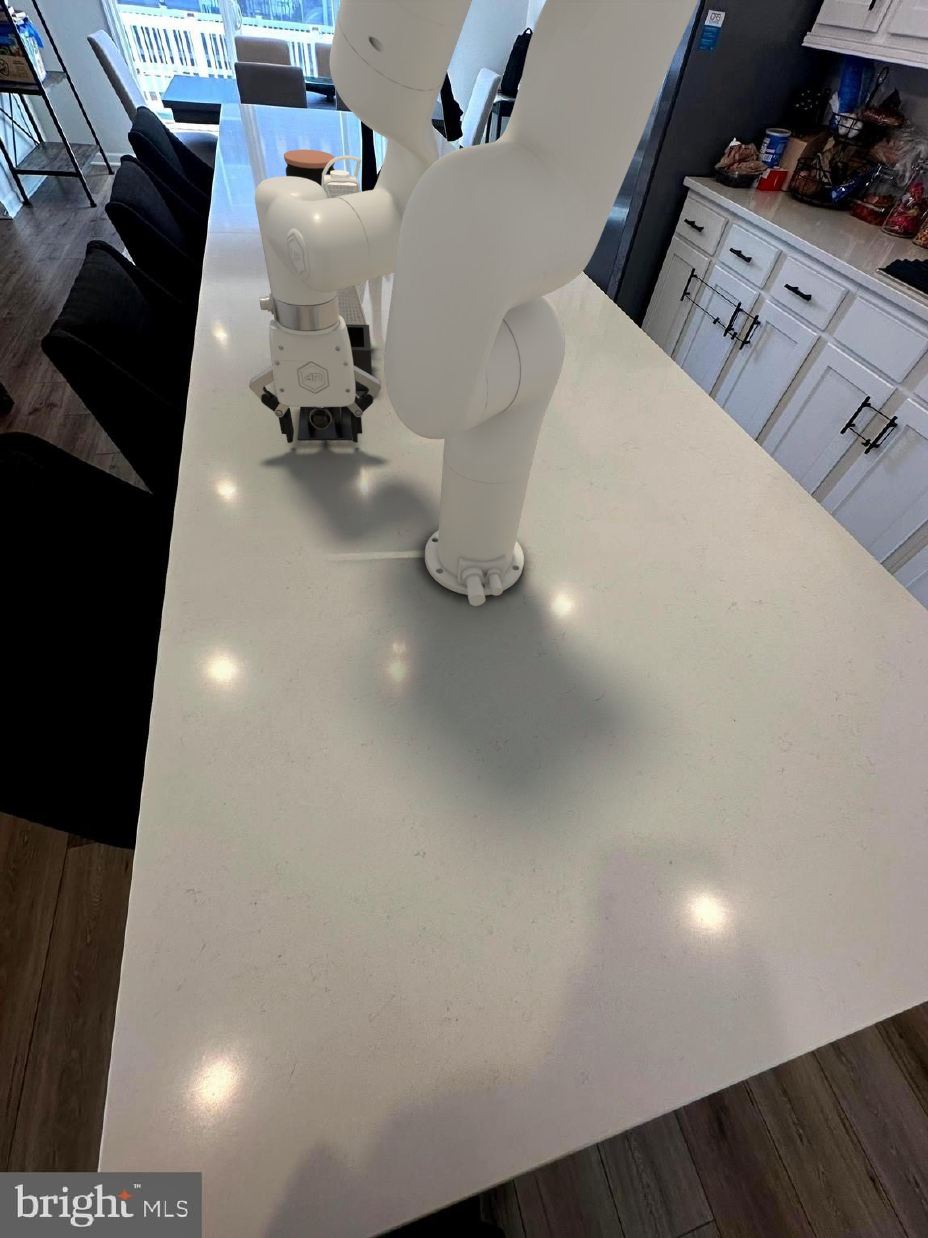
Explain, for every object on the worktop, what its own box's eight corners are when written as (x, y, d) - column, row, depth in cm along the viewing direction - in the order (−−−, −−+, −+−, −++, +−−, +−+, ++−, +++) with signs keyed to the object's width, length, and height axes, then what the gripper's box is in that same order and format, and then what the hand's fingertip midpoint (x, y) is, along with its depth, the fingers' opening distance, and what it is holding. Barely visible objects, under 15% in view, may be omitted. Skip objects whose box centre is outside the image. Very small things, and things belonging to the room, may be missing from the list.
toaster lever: (333, 433, 80) (331, 422, 77) (311, 433, 79) (308, 422, 76) (330, 363, 81) (327, 350, 78) (308, 362, 81) (306, 349, 78)
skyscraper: (349, 334, 107) (335, 148, 86) (382, 348, 105) (376, 160, 83) (318, 349, 103) (295, 156, 81) (352, 364, 100) (338, 169, 78)
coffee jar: (291, 245, 133) (278, 149, 120) (334, 242, 137) (326, 148, 123) (302, 262, 128) (290, 163, 114) (348, 259, 131) (341, 162, 117)
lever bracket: (352, 445, 85) (346, 369, 76) (298, 445, 84) (285, 368, 75) (352, 412, 90) (346, 338, 81) (301, 412, 89) (289, 337, 80)
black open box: (373, 396, 94) (370, 350, 88) (280, 395, 92) (272, 348, 86) (371, 369, 100) (369, 324, 94) (284, 368, 97) (276, 322, 91)
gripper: (226, 321, 63) (257, 453, 76) (381, 324, 66) (385, 452, 79) (234, 294, 68) (262, 422, 81) (378, 298, 70) (383, 422, 84)
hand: (323, 436), depth 80 cm, fingers open, 8 cm apart
